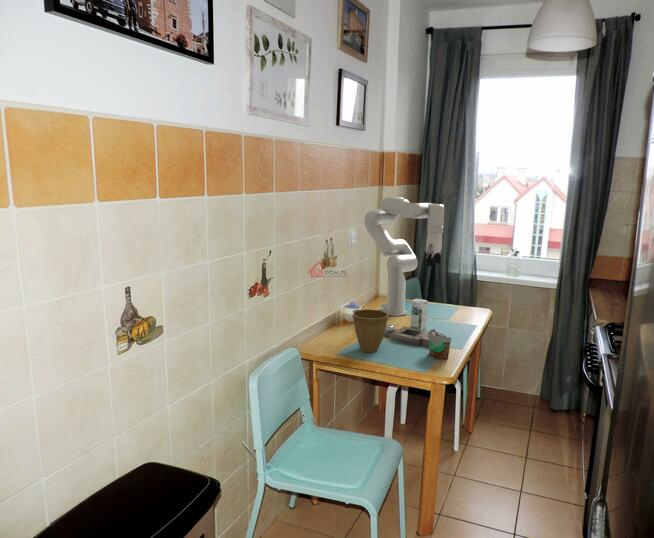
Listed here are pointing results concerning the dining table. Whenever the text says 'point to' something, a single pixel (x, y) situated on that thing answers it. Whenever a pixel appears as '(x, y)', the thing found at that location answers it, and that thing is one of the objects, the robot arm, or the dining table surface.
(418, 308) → the syrup box
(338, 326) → the dining table surface
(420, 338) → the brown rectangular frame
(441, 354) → the food container
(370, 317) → the plant pot
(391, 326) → the plate with dome knob
